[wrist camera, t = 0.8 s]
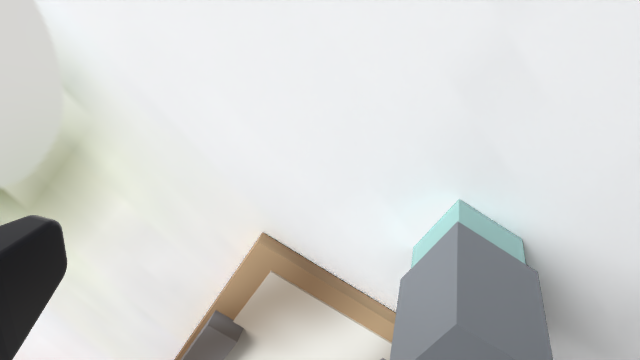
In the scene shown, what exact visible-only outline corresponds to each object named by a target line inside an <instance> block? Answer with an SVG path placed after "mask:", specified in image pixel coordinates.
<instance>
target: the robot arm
mask: <svg viewBox="0 0 640 360" xmlns="http://www.w3.org/2000/svg"><path fill="white" fill-rule="evenodd" d="M66 268H67V257H66V251H65V244H64V238H63V232H62V227H61V225H60V224H59V222H57V221H55V220H52V219H49V218H45V217H41V216H37V215H30V216H27V217H24V218H21V219H18V220H15V221H12V222H10V223H7V224H4V225H1V226H0V360H12V359H13V358H14V356H15V355H16V353H17V352H18V350H19V349H20V347H21V345H22V344H23V342H24V340H25V339H26V337H27V336H28V334H29V332H30V331H31V329H32V327H33V326H34V324H35V323H36V321H37V319H38V318H39V316H40V314H41V313H42V311H43V310H44V308H45V306H46V305H47V303H48V301H49V300H50V298H51V297H52V295H53V293H54V292H55V290H56V288H57V287H58V285H59V283H60V282H61V280H62V279H63V277H64V274H65V272H66Z"/></svg>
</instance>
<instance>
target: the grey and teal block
mask: <svg viewBox="0 0 640 360" xmlns="http://www.w3.org/2000/svg"><path fill="white" fill-rule="evenodd" d="M390 360H553V358H552V352H551V346H550V340H549V335H548V329H547V323H546V318H545V312H544V306H543V301H542V295H541V289H540V284H539V278H538V272H537V271H535V270H534V269H532V268H531V267H529V266H527V265H526V263H525V256H524V249H523V243H522V239H521V238H519V237H517V236H516V235H514V234H513V233H511V232H510V231H508V230H507V229H505V228H503V227H502V226H500V225H499V224H497V223H496V222H494V221H493V220H491V219H489V218H488V217H486V216H485V215H483V214H482V213H480V212H478V211H477V210H475V209H474V208H472V207H471V206H469V205H468V204H466V203H464V202H463V201H461V200H460V199H459V200H458V201H457V202H456V203H455V204H454V205H453V206H452V207H451V208H450V209H449V210H448V212H447V213H446V214H445V215H444V216H443V217H442V218H441V219H440V220H439V221H438V222H437V223H436V224H435V225H434V226H433V227H432V228H431V229H430V231H429V232H428V233H427V234H426V235H425V236H424V237H423V238H422V239H421V240H420V241H419V242H418V243H417V244H416V245H415V246H414V248H413V257H412V265H411V269H410V270H409V272H408V273H407V274H406V275H405V276H404V277H403V278H402V279H401V281H400V288H399V296H398V303H397V310H396V317H395V324H394V332H393V339H392V346H391V353H390Z"/></svg>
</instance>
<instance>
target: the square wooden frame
mask: <svg viewBox="0 0 640 360" xmlns="http://www.w3.org/2000/svg"><path fill="white" fill-rule="evenodd" d="M395 317H396V313H395V312H393V311H392V310H390V309H388V308H387V307H385V306H383V305H382V304H380V303H378V302H377V301H375V300H373V299H372V298H370V297H368V296H367V295H365V294H363V293H362V292H360V291H359V290H357V289H355V288H354V287H352V286H350V285H349V284H347V283H345V282H344V281H342V280H340V279H339V278H337V277H335V276H334V275H332V274H330V273H329V272H327V271H325V270H324V269H322V268H321V267H319V266H317V265H316V264H314V263H312V262H311V261H309V260H307V259H306V258H304V257H302V256H301V255H299V254H297V253H296V252H294V251H292V250H291V249H289V248H288V247H286V246H284V245H283V244H281V243H279V242H278V241H276V240H274V239H273V238H271V237H269V236H268V235H266V234H264V233H262V234H261V236H260V237H259V238H258V240H257V241H256V243H255V244H254V246H253V247H252V248H251V250H250V251H249V253H248V254H247V256H246V257H245V259H244V260H243V261H242V263H241V264H240V266H239V267H238V269H237V270H236V271H235V273H234V274H233V276H232V277H231V279H230V280H229V282H228V283H227V284H226V286H225V287H224V289H223V290H222V292H221V293H220V294H219V296H218V297H217V299H216V300H215V302H214V303H213V305H212V306H211V307H210V309H209V310H208V312H207V313H206V315H205V316H204V318H203V319H202V320H201V322H200V323H199V325H198V326H197V328H196V329H195V330H194V332H193V333H192V335H191V336H190V338H189V339H188V341H187V342H186V343H185V345H184V346H183V348H182V349H181V351H180V352H179V353H178V355H177V356H176V358H175V359H174V360H390V353H391V346H392V339H393V332H394V324H395Z"/></svg>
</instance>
